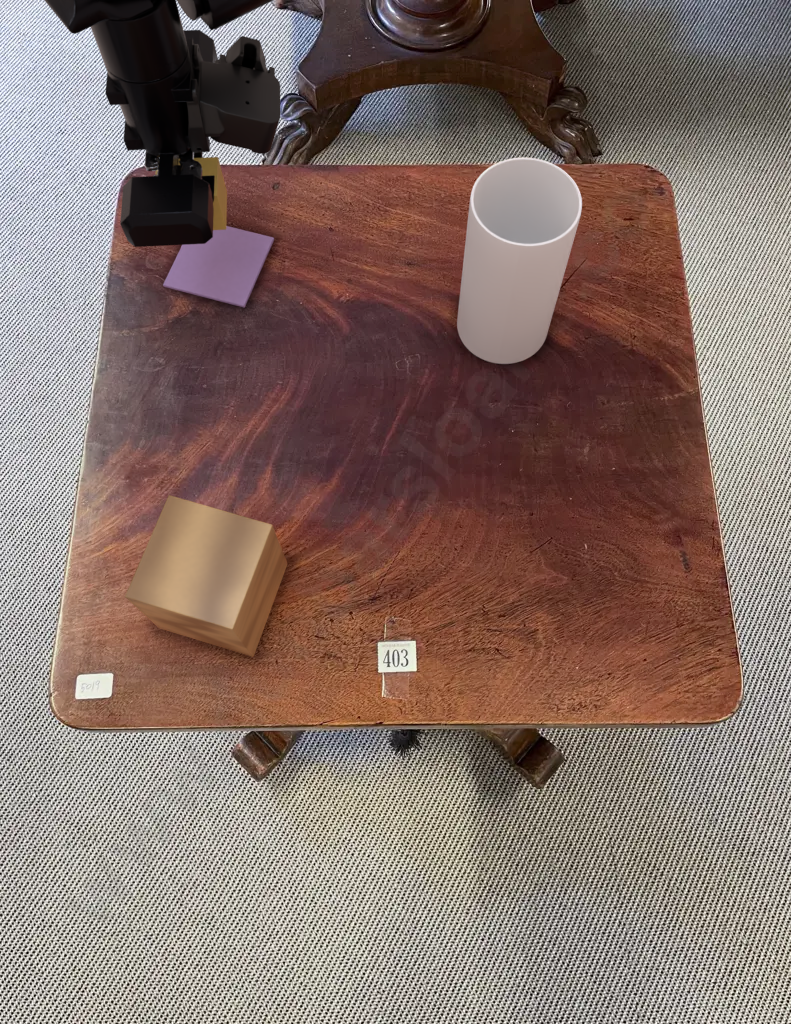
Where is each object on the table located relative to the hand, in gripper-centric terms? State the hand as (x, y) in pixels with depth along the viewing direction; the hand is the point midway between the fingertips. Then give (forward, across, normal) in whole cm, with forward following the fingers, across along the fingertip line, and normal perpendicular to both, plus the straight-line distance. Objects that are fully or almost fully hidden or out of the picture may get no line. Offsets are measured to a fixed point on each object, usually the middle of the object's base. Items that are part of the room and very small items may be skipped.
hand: (196, 212), depth 72 cm
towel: (+8, +1, 0) cm, 8 cm away
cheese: (0, 0, 0) cm, 0 cm away
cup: (+8, -7, -26) cm, 28 cm away
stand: (+8, -31, -1) cm, 32 cm away
